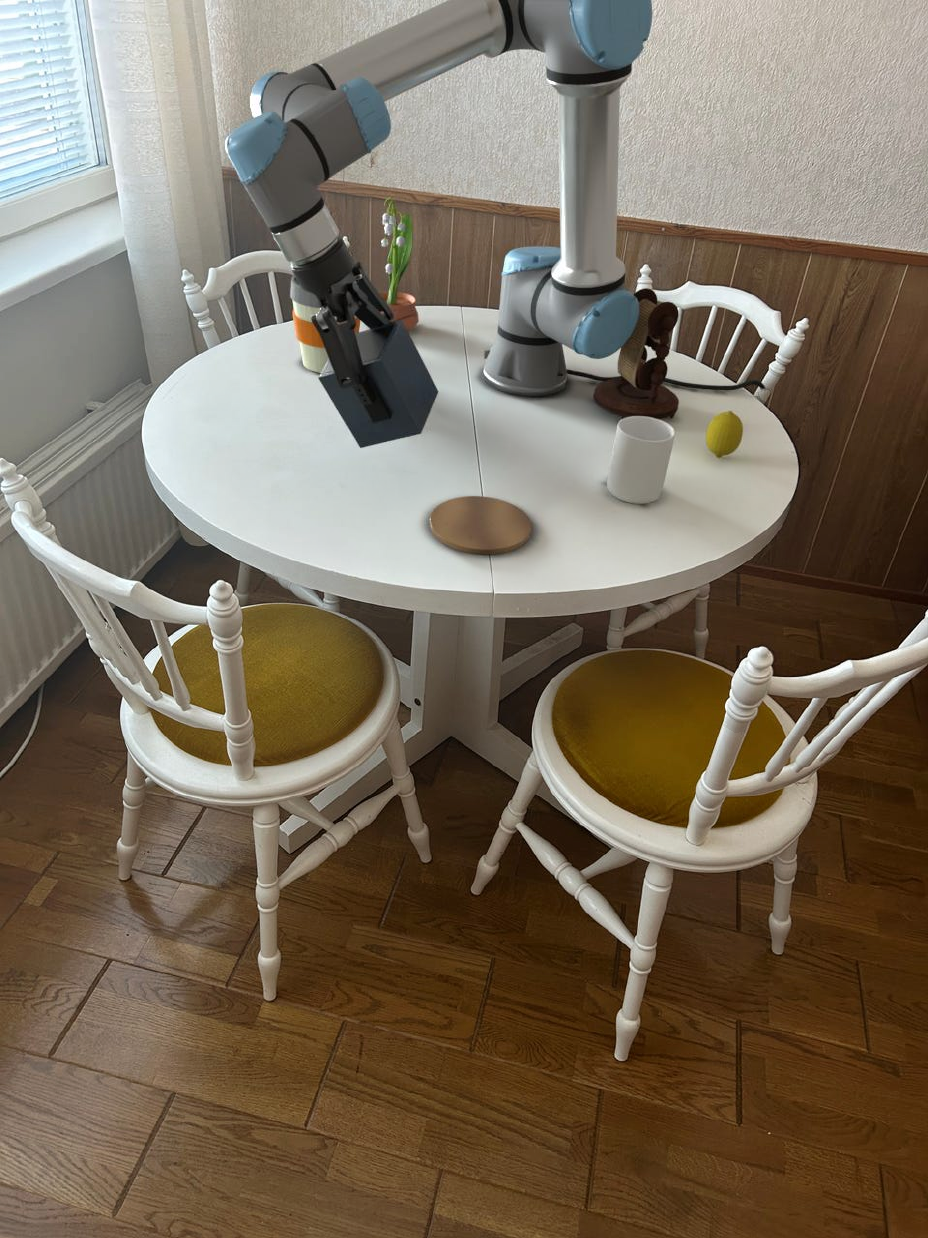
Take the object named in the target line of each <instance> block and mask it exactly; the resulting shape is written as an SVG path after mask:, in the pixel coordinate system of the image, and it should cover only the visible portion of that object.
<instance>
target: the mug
mask: <svg viewBox="0 0 928 1238" xmlns="http://www.w3.org/2000/svg"><path fill="white" fill-rule="evenodd" d="M675 438H676V430H675V428H674V427H673V426H672V425H671V424H669V423H668V422H666V421H664V420H663V419H655V418H651V417H645V416H632V417H627V418H624V419H622V418H621V419H620V420H619V421H618V423H617V425H616V432H615V436H614V441H613V448H612V453H611V458H610V463H609V468H608V475H607V481H606V487H607V490H608V492H609V493H610V494H611V495H612V496H613V497H614V498H615V499H618V500H619V501H622V502H625V503H629V504H634V505H635V504H636V505H644V504H645V505H647V504H651V503H653V502H656V501H657V500H658V499H659V498H660V497H661V495H662V492H663V489H664V485H665V481H666V476H667V473H668V467H669V464H670V461H671V460H670V459H671V455H672V451H673V446H674V442H675Z"/></svg>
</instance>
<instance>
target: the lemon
mask: <svg viewBox="0 0 928 1238" xmlns="http://www.w3.org/2000/svg"><path fill="white" fill-rule="evenodd" d="M743 425H744V424H743V422H742V420H741V418H740V417H739V416H738V415H737V414H735V412H734V411H732V410H728V411H725V412H720V413H719V414H716V416H714V417H713V418H712V419H711V421H710V423H709V425H708V427H707V430H706V434H705V443H706V444H705V445H706V446H707V448H708V450H709V451H710V452H711V453H712V454H714V455H715V458H719V459H720V458H723V457H724V456H725V457H726V456H729V455H732V454H733V453H734V452H735V451H736V450H737V449H738V448H739V446H740V444H741V442H742V439H743V433H744V426H743Z"/></svg>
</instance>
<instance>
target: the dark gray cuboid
mask: <svg viewBox="0 0 928 1238" xmlns="http://www.w3.org/2000/svg"><path fill="white" fill-rule="evenodd" d="M355 335H356V339H357V343H358V347H359V351H360V355H361V359H362V363H363V367H364V371H365V375H366V376H370V377H371V378H372V380H373V382H374V384H375V386H376V388H377V389H378V391H379V393H380V395H381V397H382V398H383V400H384V402H385V404H386V406H387V408H388V409H389V411H390V413H391V415H392V416H391V418H390V419H388V420H383V421H379V422H375V423H373V421H372V419H371V418H370V416H369V414H368V412H367V411H366V409H365V407H364V405H363V404H362V403H361V401H360V399H359V397H358V396H357V394H356V392H355V391H354V389H353V388H352V387H350V388H346V389H341V388H340V386H339V383H338V381H337V378H336V375H335V373H334V370H333V368H332V365H331V363H330V360H328V362H327V363H326V365H325V367H324V369H323V370H322V372H321V373H319V375H318V378H317V379H318V380H319V382H320V384H321V385H322V387H323V388H324V390H325V392H326V393H327V395H328V397H329V398H330V399H329V400H330V401H331V402H332V403H333V405H334V407H335V409H336V410H337V412H338V414H339V416H340V417H341V419H342V420H343V422H344V424H345V426H346V427H347V429H348V430H349V432H350V434H351V435H352V437H353V439H354V441H355V442H356V443H357V446H358V447H359V448H360V449H363V448H367V447H371V446H375V445H380V444H384V443H388V442H393V441H396V440H400V439H401V440H402V439H405V438H410V437H415V436H417V435H421V434H422V432H423V430H424V428H425V426H426V423H427V421H428V418H429V416H430V415H431V414H430V413H431V412H432V409H433V407H434V404H435V401H436V400H437V397H438V394H439V390H438V388H437V385H436V384H435V382H434V380H433V378H432V375H431V374H430V372H429V370H428V368H427V366H426V364H425V362H424V360H423V358H422V355H421V354H420V352H419V350H418V347H417V345H416V344H415V343H414V341H413V338H412V337H411V334H410V333H409V331H407V329H406V327H405V325H404V323H403V321H402V320H399V321H395V322H392V323H389V324H385V325H382V326H379V327H375V328H372V329H370V328H368V329H366V330H362V331H359V333H356V334H355Z"/></svg>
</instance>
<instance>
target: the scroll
mask: <svg viewBox="0 0 928 1238" xmlns="http://www.w3.org/2000/svg"><path fill="white" fill-rule="evenodd" d="M633 295H634V296H635V297H636V298H637V300H638V303H639V317H638V321H637V324H636V326H635V329H634V331H633V333H632V334H631V336H630V337H629V338H628V339H627V341H626V343H625V344H624V345H623V346H622V347H621V348H620V349H619V350H620V351H619V354H618V358H617V366H616V367H617V373H618V374H619V376H622V377H621V378H615V379H610V380H608V381H605V382H602V381H601V382H600V383H599V384H597V385H596V386H595V387H594V390H593V395H592V398H593V401H594V403H595V404H596V405H597V406H598V407H599V408H601V409H602V410H603V411H606V412H607V413H610V414H612V415H615V416H616V417H617V416H618V417H620V418H621V420H622V419H624V418H627V417H632V416H645V417H651V418H655V419H659V420H665V419H667V418H669V419H671V420H672V419H673V418H674V417H675V415H676V413H677V412H678V409H679V405H680V399H679V397H678V396H677V395H676V393H674V392H673V391H672V390H671V389H669V388H668V387H666V386H665V385H663V383H664V382H663V381H664V379H665V378H667V375H668V364H667V362H666V358H667V357H668V356H669V355H670V347H669V346H668V345H669V343H670V333H672V331H673V330H674V328H675V327H676V325H677V323H678V320H679V316H680V315H679V314H680V313H679V309H678V306H677V305H676V304H675V303H674V302H671V301H663V302H661V303H659V304H658V296H657V294H656V292H655V291H654V290H653V289H652V288H647V287H644V288H641V289H638V290H637V291H635V292H634V293H633ZM657 341H659V342H657ZM646 347H648V348H651V350H652V351H653V352H655V356H656V357H651V358H649V359H648V350H647V348H646ZM647 359H648V360H647Z"/></svg>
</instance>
